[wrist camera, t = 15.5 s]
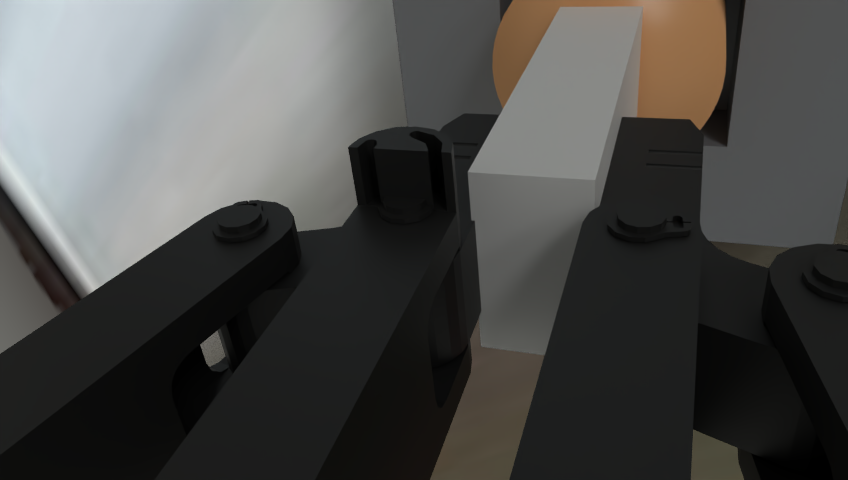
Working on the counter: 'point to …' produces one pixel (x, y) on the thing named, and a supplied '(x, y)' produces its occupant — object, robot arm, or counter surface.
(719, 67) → the button
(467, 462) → the counter surface
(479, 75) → the button housing
